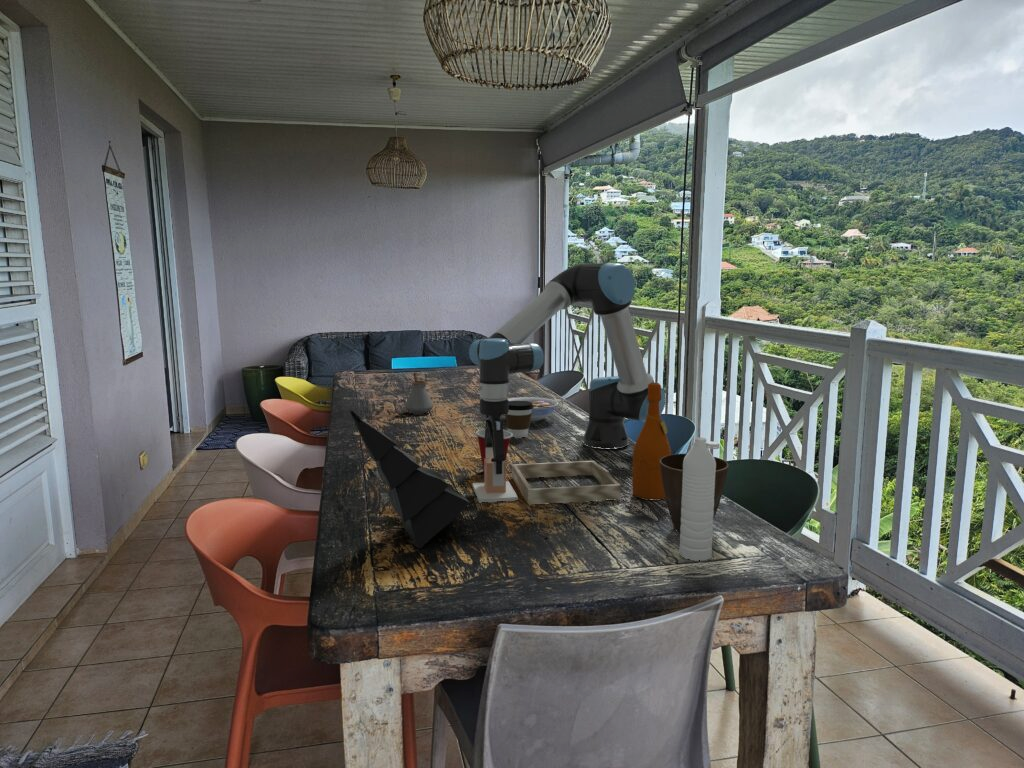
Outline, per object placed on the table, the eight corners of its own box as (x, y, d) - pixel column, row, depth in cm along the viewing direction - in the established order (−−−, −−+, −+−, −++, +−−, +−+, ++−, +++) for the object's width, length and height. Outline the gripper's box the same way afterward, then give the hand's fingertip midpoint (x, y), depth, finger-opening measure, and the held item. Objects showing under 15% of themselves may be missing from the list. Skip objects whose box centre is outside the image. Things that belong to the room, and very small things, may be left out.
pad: (508, 484, 195) (508, 481, 195) (517, 500, 181) (517, 497, 181) (472, 486, 193) (472, 483, 193) (479, 502, 179) (479, 499, 179)
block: (502, 486, 190) (502, 457, 189) (505, 492, 185) (505, 462, 184) (484, 487, 189) (484, 458, 188) (486, 493, 184) (486, 463, 183)
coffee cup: (497, 438, 248) (497, 404, 247) (509, 431, 258) (509, 399, 257) (527, 441, 244) (527, 406, 242) (537, 434, 254) (538, 401, 252)
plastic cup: (508, 478, 201) (508, 437, 199) (471, 476, 203) (471, 435, 201) (516, 467, 211) (516, 428, 209) (480, 465, 213) (480, 427, 211)
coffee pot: (435, 414, 289) (434, 378, 286) (406, 416, 286) (406, 379, 283) (428, 405, 309) (427, 371, 307) (401, 406, 306) (400, 372, 304)
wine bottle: (647, 504, 179) (651, 387, 174) (624, 493, 187) (627, 381, 182) (677, 498, 183) (682, 384, 178) (653, 488, 192) (657, 378, 187)
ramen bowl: (571, 419, 280) (571, 398, 279) (542, 430, 261) (542, 408, 260) (517, 412, 293) (517, 393, 292) (486, 422, 274) (486, 401, 273)
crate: (593, 473, 205) (593, 460, 204) (620, 500, 182) (620, 485, 181) (512, 478, 201) (512, 464, 200) (528, 505, 178) (528, 490, 177)
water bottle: (673, 551, 148) (677, 435, 144) (699, 548, 151) (705, 433, 147) (696, 568, 140) (702, 445, 136) (724, 563, 142) (730, 442, 138)
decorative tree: (412, 539, 164) (317, 426, 152) (461, 497, 167) (371, 383, 155) (429, 563, 151) (326, 441, 139) (482, 517, 154) (386, 394, 142)
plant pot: (713, 547, 151) (717, 475, 148) (647, 533, 159) (649, 464, 156) (732, 526, 163) (736, 459, 161) (670, 514, 171) (673, 450, 168)
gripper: (473, 391, 195) (474, 465, 198) (486, 408, 170) (486, 493, 174) (500, 390, 196) (501, 464, 199) (517, 407, 172) (516, 491, 175)
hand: (494, 478), depth 186 cm, fingers open, 13 cm apart
